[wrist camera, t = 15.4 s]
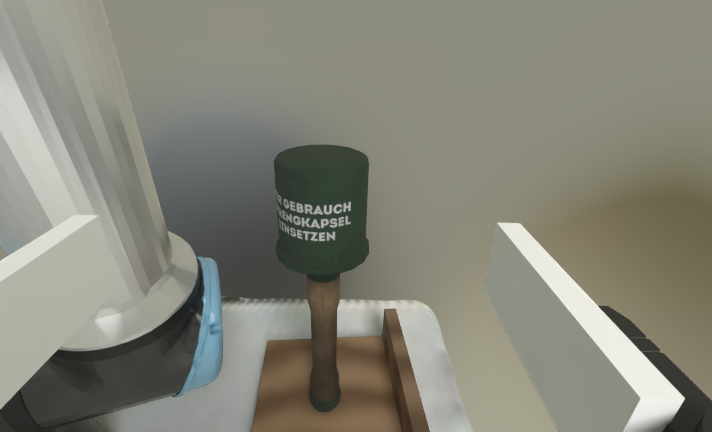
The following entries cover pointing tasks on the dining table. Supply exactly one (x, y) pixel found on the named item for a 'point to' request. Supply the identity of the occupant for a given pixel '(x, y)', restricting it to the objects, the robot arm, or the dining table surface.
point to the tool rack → (342, 386)
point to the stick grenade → (322, 242)
